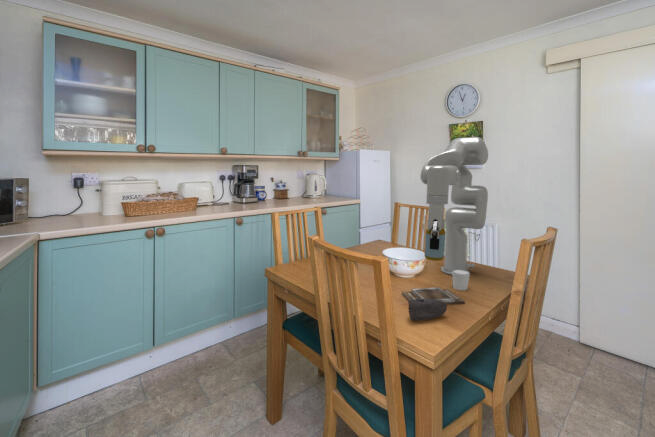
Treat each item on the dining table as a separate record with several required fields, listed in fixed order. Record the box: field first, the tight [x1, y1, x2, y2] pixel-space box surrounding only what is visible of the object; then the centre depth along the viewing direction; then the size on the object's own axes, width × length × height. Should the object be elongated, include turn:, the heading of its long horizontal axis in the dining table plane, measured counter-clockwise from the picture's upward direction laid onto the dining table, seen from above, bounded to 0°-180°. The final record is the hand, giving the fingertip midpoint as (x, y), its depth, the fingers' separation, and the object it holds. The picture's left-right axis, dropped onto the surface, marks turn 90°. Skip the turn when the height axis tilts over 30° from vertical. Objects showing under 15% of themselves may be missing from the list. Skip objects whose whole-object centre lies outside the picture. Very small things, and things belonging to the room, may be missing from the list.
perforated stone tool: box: [407, 299, 448, 321], centre depth 106 cm, size 15×5×7 cm, turn 101°
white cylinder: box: [451, 270, 471, 291], centre depth 132 cm, size 7×7×7 cm
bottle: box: [424, 218, 446, 262], centre depth 118 cm, size 7×7×15 cm
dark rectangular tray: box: [401, 286, 466, 306], centre depth 122 cm, size 20×12×2 cm, turn 98°
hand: (434, 246), depth 119 cm, fingers closed on bottle, 6 cm apart
